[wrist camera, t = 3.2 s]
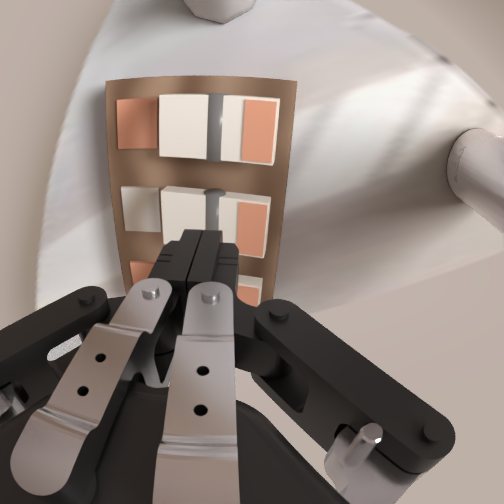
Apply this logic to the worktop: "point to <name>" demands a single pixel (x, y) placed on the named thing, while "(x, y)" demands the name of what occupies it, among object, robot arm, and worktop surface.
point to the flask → (219, 9)
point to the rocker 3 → (249, 289)
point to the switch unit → (186, 168)
